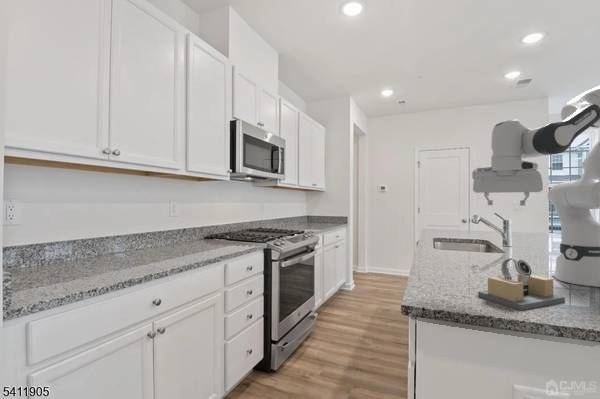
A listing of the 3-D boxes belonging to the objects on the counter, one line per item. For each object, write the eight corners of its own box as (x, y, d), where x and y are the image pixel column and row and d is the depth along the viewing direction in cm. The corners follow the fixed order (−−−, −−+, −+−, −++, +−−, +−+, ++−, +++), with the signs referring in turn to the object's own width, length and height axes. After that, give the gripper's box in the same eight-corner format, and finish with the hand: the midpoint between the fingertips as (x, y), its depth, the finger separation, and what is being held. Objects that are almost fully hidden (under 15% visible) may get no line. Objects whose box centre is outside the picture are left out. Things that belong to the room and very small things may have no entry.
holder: (519, 290, 102) (519, 271, 102) (564, 302, 90) (564, 280, 90) (478, 296, 95) (478, 276, 95) (520, 310, 83) (521, 286, 83)
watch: (522, 298, 89) (522, 261, 89) (496, 290, 97) (496, 256, 97) (535, 296, 91) (535, 260, 91) (509, 289, 98) (509, 255, 98)
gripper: (471, 167, 109) (471, 205, 109) (543, 163, 97) (543, 205, 97) (473, 169, 114) (473, 205, 114) (542, 165, 102) (542, 205, 102)
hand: (505, 205), depth 105 cm, fingers open, 8 cm apart
